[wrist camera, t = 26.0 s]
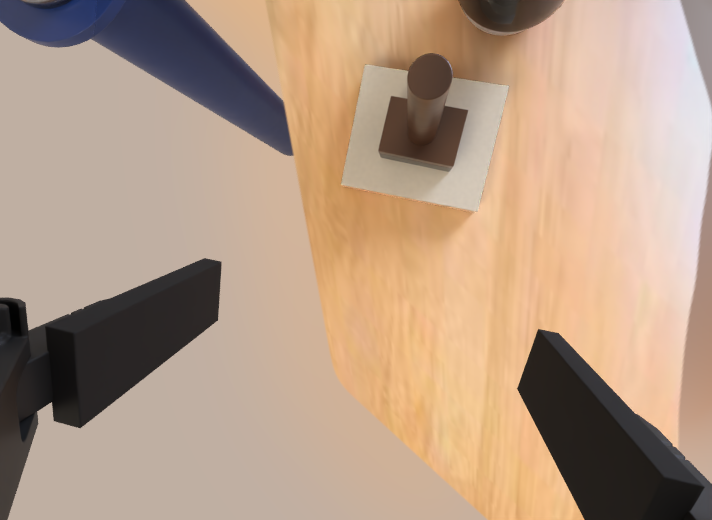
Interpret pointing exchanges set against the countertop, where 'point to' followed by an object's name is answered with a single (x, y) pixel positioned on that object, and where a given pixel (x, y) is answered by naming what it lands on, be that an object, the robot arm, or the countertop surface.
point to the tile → (413, 180)
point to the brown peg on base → (424, 118)
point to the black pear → (508, 14)
